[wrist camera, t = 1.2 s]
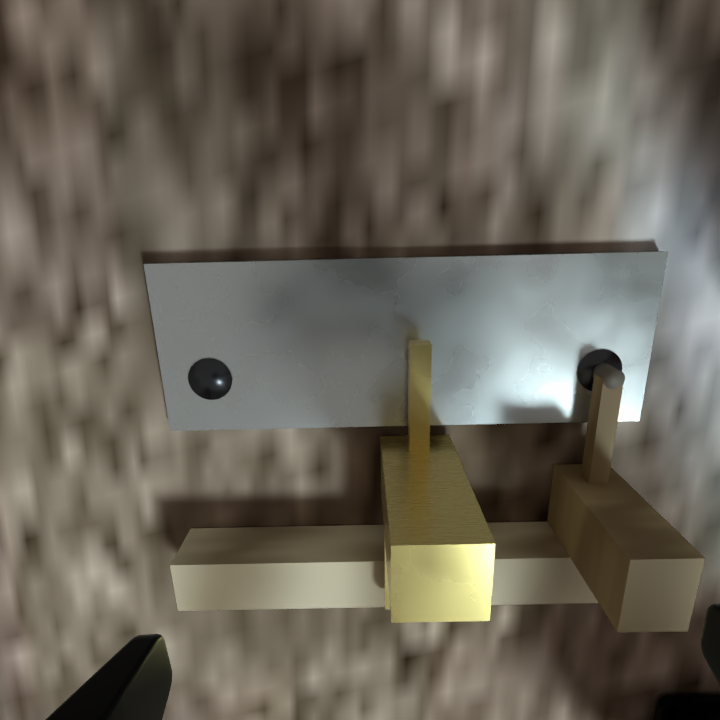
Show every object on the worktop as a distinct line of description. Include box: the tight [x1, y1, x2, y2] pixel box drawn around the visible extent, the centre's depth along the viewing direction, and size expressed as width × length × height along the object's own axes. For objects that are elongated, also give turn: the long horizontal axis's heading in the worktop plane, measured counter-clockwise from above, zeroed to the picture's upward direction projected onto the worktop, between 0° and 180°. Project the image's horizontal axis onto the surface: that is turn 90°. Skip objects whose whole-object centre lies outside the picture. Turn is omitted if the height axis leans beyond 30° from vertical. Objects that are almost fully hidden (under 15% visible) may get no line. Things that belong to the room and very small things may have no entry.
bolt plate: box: [144, 251, 668, 431], centre depth 18 cm, size 20×7×1 cm, turn 91°
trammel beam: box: [170, 363, 705, 633], centre depth 17 cm, size 20×10×6 cm, turn 91°
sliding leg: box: [380, 340, 496, 623], centre depth 16 cm, size 3×11×7 cm, turn 1°
